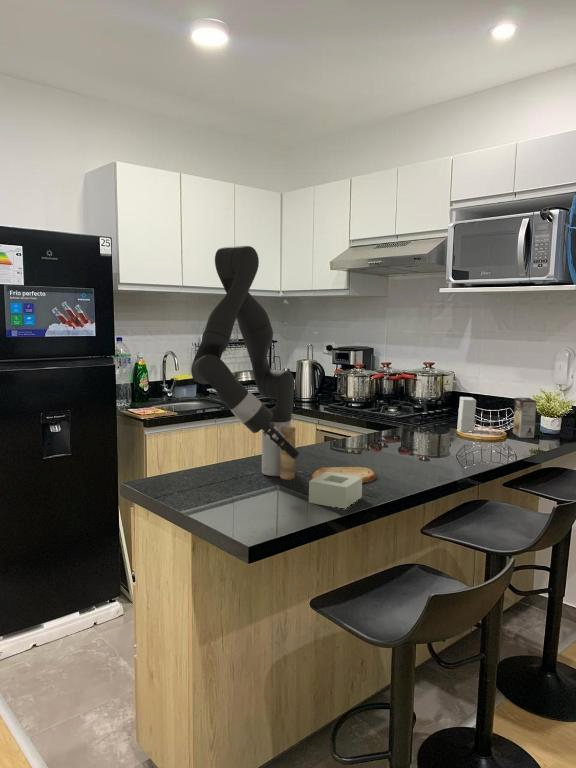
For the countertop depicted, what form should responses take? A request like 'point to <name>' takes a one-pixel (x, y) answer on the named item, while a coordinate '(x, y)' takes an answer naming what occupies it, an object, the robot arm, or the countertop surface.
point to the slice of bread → (348, 472)
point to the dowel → (286, 459)
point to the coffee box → (524, 417)
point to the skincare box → (466, 414)
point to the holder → (335, 490)
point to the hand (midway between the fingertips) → (294, 453)
